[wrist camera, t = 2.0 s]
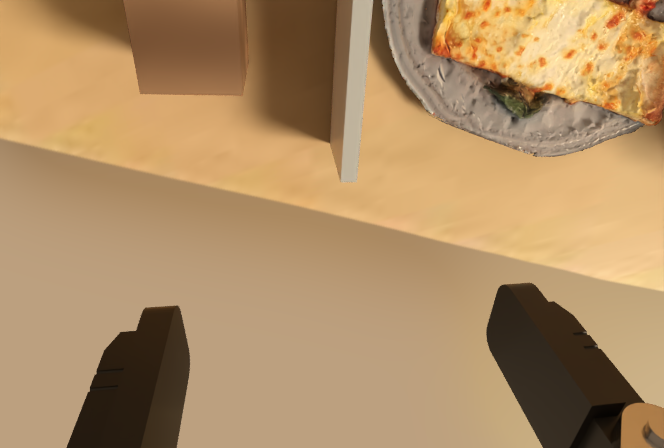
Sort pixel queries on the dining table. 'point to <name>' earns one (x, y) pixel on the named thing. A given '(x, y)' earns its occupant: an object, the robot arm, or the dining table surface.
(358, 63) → the grey divider panel
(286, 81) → the dining table surface
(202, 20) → the walnut block
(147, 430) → the robot arm
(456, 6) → the food plate
